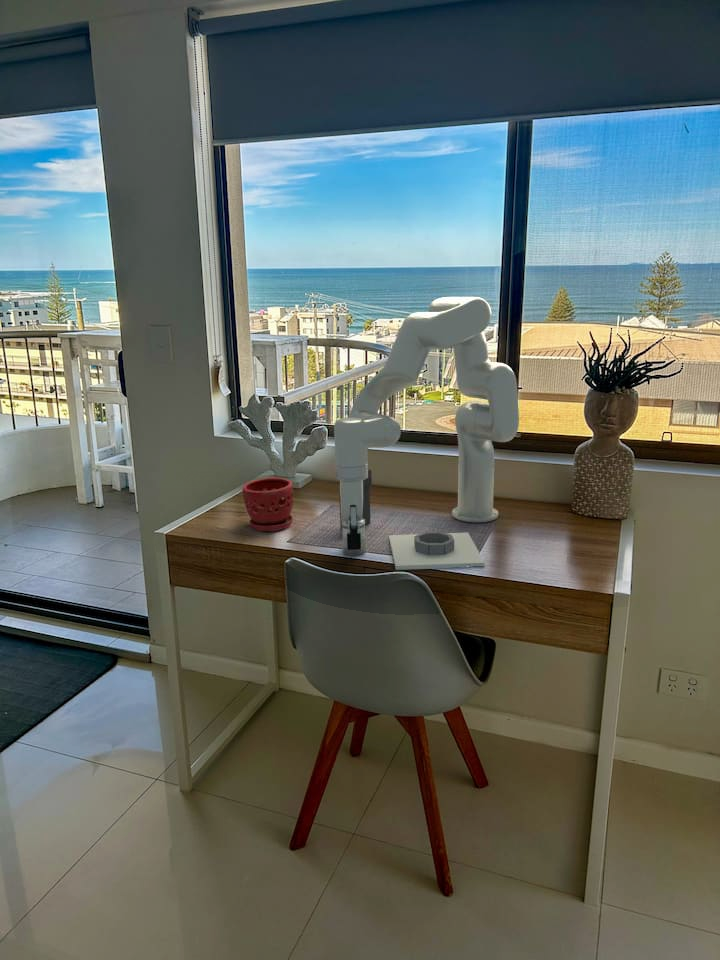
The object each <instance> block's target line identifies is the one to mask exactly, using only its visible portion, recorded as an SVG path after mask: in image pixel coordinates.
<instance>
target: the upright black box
mask: <svg viewBox="0 0 720 960" xmlns="http://www.w3.org/2000/svg"><path fill="white" fill-rule="evenodd" d="M372 479H373V478H372V469H368V478H367V479H365V480H363V514H362V518H364V519H365V527H366V526H368V525H370V524H371V492H370V491H371V489H370V488H371V485H372V483H373V482H372ZM338 498H340V495H339V497H338ZM339 522H340V527H339V528H340V531H341V532H342V525H341V523H342V521H341V501H340V500H339ZM367 524H368V525H367Z"/></svg>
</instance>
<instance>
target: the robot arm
mask: <svg viewBox="0 0 720 960" xmlns="http://www.w3.org/2000/svg"><path fill="white" fill-rule="evenodd" d="M491 319H492V309H491V306H490V304H489V303H488V301H487V300H485V299H483V298H482V297H477V296H476V297H475V296H444V297H439V298H436V299H434V300H433V301H432V302H431V303H430V305H429V308H428V311H421V312H420V311H418V312H412V313H410V314H408V315H407V316H406V317H405V318H404V320H403V322H402V324H401V326H400V328H399V330H398V333H397V336H396V338H395V340H394V342H393V344H392V347H391V349H390V352H389V354H388V357H387V359H386V362H385V364H384V365H383V368H381V370H380V371H378V372H377V374H375V375H374V376H373V377H372V378H371V379H370V380H369V381H368V382H367V383H366V384H365V385H364V386H363V388H362V389H361V390H360V391H359V393H358V394H357V396H356V399H355V401H354V402H353V405H352V407H351V410H350V412H349V415H348V417H342V418H339V419H337V420H336V421H335V422H334V425H333V430H334V431H333V432H334V433H333V434H334V457H335V458H334V459H335V465H334V466H335V479H336V480H338V481H339V496H340V497H339V502H340V501H341V521H342V522H344V521H347V519H348V521H347V523H348V533H347V549H348V550H359V549H361V533H360V529H359V520H360V521H362V514H363V480H365V479H367V478H368V470H369V465H368V464H369V462H368V460H369V459H368V456H369V455H368V451H369V450H368V449H373V448H375V449H376V448H380V449H381V448H388V447H391V446H393V445H395V444H396V443H397V442H398V441H399V439H400V438H401V433H402V428H401V424H400V423H399V421H398V420H397V419H396V418H394V417H392V416H390V415H386V414H382V413H378V412H379V410H380V408H381V407H382V405H383V404H384V403H385V401H387V399H389V398H390V397H391V396H393V395H394V394H396V393H398V392H400V391H403V390H405V389H408V388H409V387H411V386H414V384H416V383H417V381H418V380H419V377H420V374H421V372H422V370H423V367H424V365H425V362H426V360H427V357H428V355H429V353H430V351H431V350H438V351H439V350H440V351H443V350H448V349H451V348H453V355H454V365H455V374H456V383H457V388H458V391H459V393H461V395H462V396H465V397H468V398H474V399H480V400H486V401H480V400H469V401H466V402H464V403H462V404H461V405H460V406H459V407H458V408H457V410H456V413H455V417H454V420H455V421H454V422H455V423H454V424H455V429H456V434H457V444H458V460H457V461H458V465H457V466H458V472H457V474H458V476H457V483H458V484H457V506H456V507H454V508H453V509H452V511H451V516H452V517H453V518H454V519H456V520H459V521H461V522H467V523H488V522H492V521H494V520H496V519H498V517H499V511H498V510H497V509H496V508H494V484H495V483H494V480H495V478H494V477H495V450H494V445H493V442H497V443H506V442H510V441H512V440H513V439H514V437H515V436H516V435H517V434H518V430H519V426H520V425H519V424H520V413H519V411H520V408H519V393H518V382H517V377H516V375H515V372H514V371H513V370H512V368H511V367H510V366H509V365H507V364H505V363H503V362H496V361H495V362H493V361H491V359H490V357H489V351H488V343H487V339H486V335H485V333H484V331H485V330H486V328H488V326H489V325H490V323H491ZM357 517H358V520H356V518H357ZM349 518H351V521H349ZM350 523H351V525H350ZM356 523H357V525H356Z"/></svg>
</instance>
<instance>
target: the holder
mask: <svg viewBox="0 0 720 960" xmlns="http://www.w3.org/2000/svg"><path fill="white" fill-rule="evenodd" d="M388 540H389V545H390V546H389V547H390V549H391V554H392V558H393V559H394V560H393V559H392V560H393V563H394V567H395V568H394V569H395V571H404V570H405V571H406V570H425V569H426V570H430V569H431V570H432V569H433V570H434V569H454V568H453V567H464V568H473V567H472V566H486V562H485V560H484V559H483V557H482V555H481V554H480V551H479V550H478V548H477V546H476V544H475V542H474V541H473V539H472V537H471V535H470V534H469V532H452V533H451V532H442V531H423V532H421V533H419V534H418V533H415V534H414V533H413V534H389V535H388ZM467 566H468V567H467ZM451 567H452V568H451Z"/></svg>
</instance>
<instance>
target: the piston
mask: <svg viewBox="0 0 720 960" xmlns="http://www.w3.org/2000/svg"><path fill="white" fill-rule="evenodd" d="M356 520H358V517H357V518H356ZM347 521H348V519H347ZM347 521H344V522H342V523H341V525H342V531H341V541H342V545H341V546H342V554H343V553H344V554H343V555H345V556H348V555H349V556H348V557H358V556H362V555H364V554H365V553H366V526H365V519H364V518H362V521H360V520H359V529H360V533H361V549H359V550H348V549H347V533H348V523H347ZM349 521H351V518H349ZM350 525H351V523H350ZM356 525H357V523H356Z"/></svg>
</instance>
